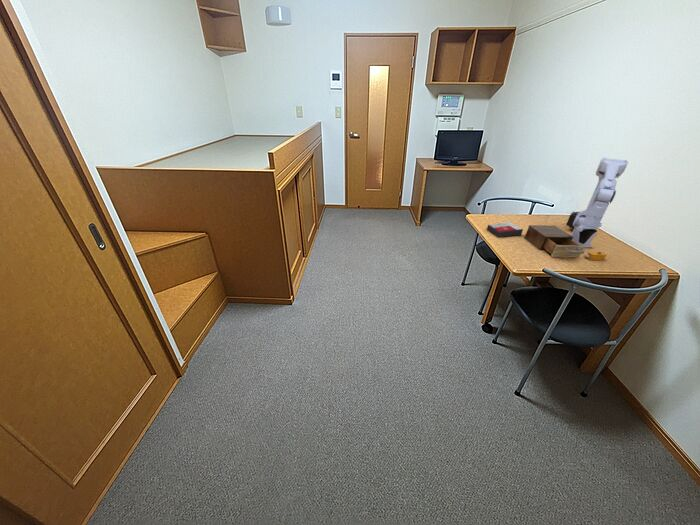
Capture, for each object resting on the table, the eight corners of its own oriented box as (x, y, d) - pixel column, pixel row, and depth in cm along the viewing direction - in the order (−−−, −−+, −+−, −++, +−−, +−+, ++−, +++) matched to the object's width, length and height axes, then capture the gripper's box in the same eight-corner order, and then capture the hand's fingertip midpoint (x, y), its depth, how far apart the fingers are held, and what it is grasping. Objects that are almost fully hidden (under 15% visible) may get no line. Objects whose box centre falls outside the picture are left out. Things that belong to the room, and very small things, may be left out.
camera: (575, 227, 182) (560, 227, 176) (584, 209, 177) (569, 209, 171) (593, 233, 173) (578, 234, 167) (603, 215, 168) (587, 215, 162)
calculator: (487, 223, 169) (510, 220, 172) (486, 230, 172) (508, 227, 174) (500, 231, 160) (523, 228, 163) (498, 238, 162) (521, 235, 165)
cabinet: (567, 250, 151) (573, 237, 147) (540, 250, 150) (545, 236, 147) (549, 238, 164) (555, 225, 160) (524, 237, 163) (529, 225, 159)
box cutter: (599, 257, 145) (602, 251, 143) (603, 260, 143) (607, 254, 141) (582, 257, 145) (585, 251, 143) (586, 259, 143) (589, 253, 141)
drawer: (586, 262, 139) (591, 251, 136) (559, 261, 138) (564, 251, 135) (561, 244, 155) (565, 234, 152) (536, 244, 154) (540, 234, 151)
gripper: (595, 210, 136) (582, 237, 143) (575, 214, 131) (563, 241, 138) (611, 216, 131) (597, 243, 137) (591, 220, 125) (578, 248, 132)
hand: (581, 242), depth 137 cm, fingers closed
